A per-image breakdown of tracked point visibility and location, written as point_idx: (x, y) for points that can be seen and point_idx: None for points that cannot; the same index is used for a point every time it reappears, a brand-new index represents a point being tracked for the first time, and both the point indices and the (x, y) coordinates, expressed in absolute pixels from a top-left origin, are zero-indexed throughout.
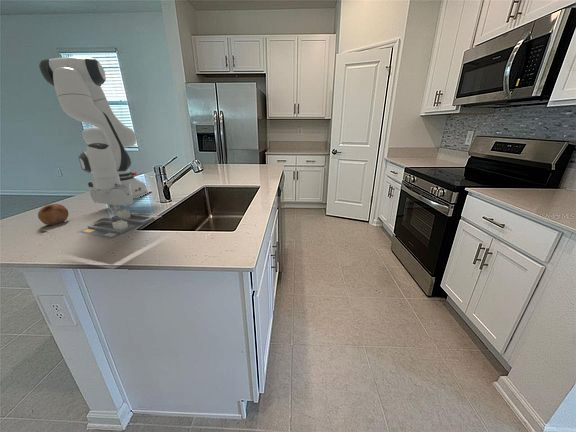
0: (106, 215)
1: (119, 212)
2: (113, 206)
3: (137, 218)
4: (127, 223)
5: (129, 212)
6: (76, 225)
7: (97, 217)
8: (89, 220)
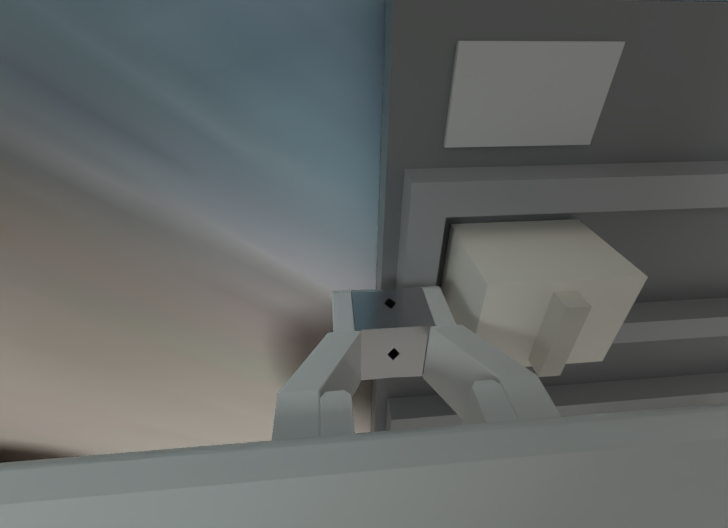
0: (43, 199)
1: (528, 366)
2: (335, 378)
3: (689, 217)
4: (638, 343)
5: (625, 265)
6: (157, 444)
7: (44, 288)
8: (98, 364)
